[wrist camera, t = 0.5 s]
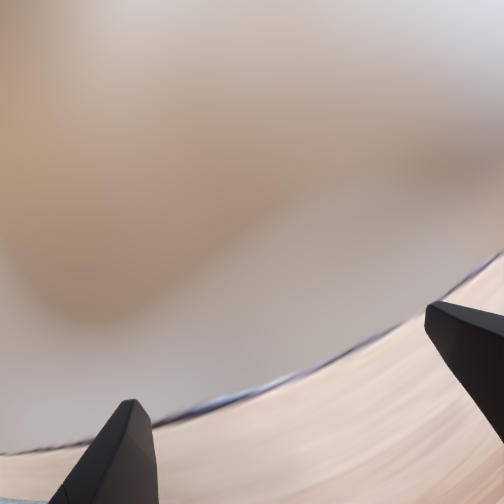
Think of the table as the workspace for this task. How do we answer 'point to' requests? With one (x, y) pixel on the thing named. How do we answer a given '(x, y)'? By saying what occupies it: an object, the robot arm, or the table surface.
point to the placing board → (19, 501)
